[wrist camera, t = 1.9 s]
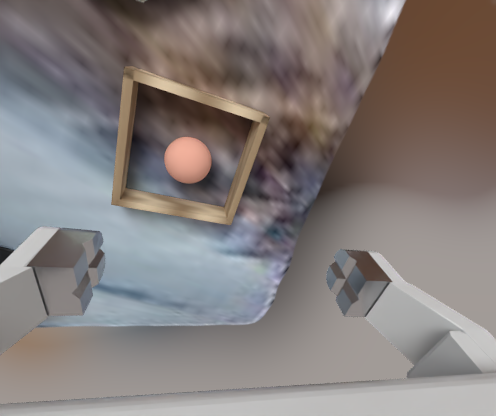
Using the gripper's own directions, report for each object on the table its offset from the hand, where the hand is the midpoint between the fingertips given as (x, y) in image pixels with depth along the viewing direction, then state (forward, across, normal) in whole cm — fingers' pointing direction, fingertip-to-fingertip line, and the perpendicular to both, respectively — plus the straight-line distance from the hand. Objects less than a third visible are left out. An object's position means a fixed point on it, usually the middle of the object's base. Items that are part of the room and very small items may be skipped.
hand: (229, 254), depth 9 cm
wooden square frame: (+22, +2, +4) cm, 23 cm away
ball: (+20, +2, +4) cm, 20 cm away
